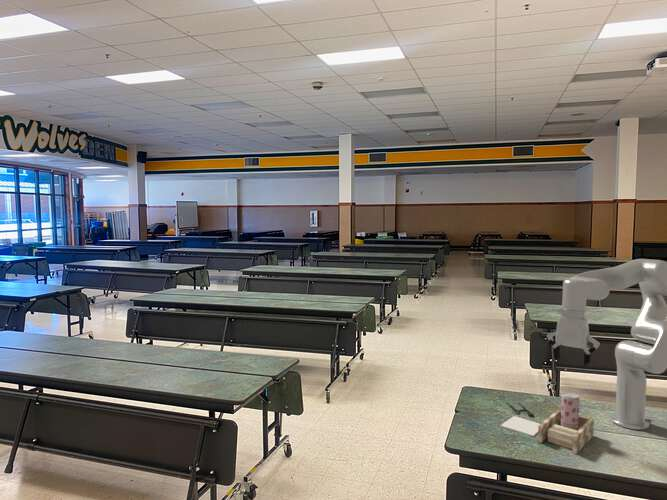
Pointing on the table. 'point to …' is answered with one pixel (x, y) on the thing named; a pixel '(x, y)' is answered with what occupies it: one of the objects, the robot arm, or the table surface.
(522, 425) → the pad
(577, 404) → the beverage can
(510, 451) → the table surface
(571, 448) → the offcut lower
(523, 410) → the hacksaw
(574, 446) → the frame
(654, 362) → the robot arm
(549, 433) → the offcut upper
